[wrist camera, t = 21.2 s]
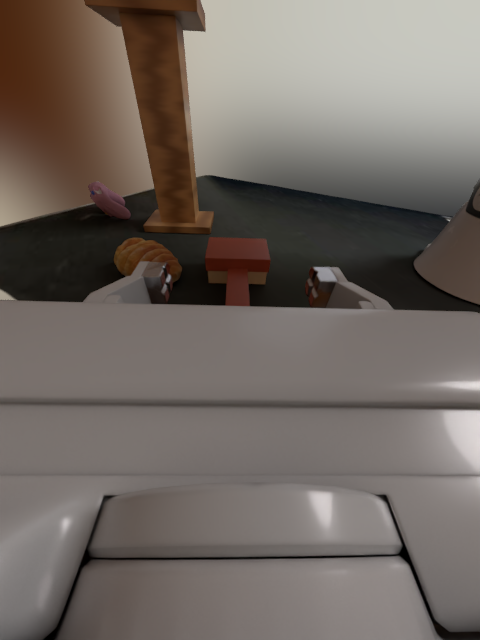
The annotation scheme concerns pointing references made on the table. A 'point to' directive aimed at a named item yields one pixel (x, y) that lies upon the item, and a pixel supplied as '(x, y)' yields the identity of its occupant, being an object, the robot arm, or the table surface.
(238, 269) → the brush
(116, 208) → the video game controller
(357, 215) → the table surface
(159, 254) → the pastry
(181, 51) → the stand
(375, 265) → the table surface
